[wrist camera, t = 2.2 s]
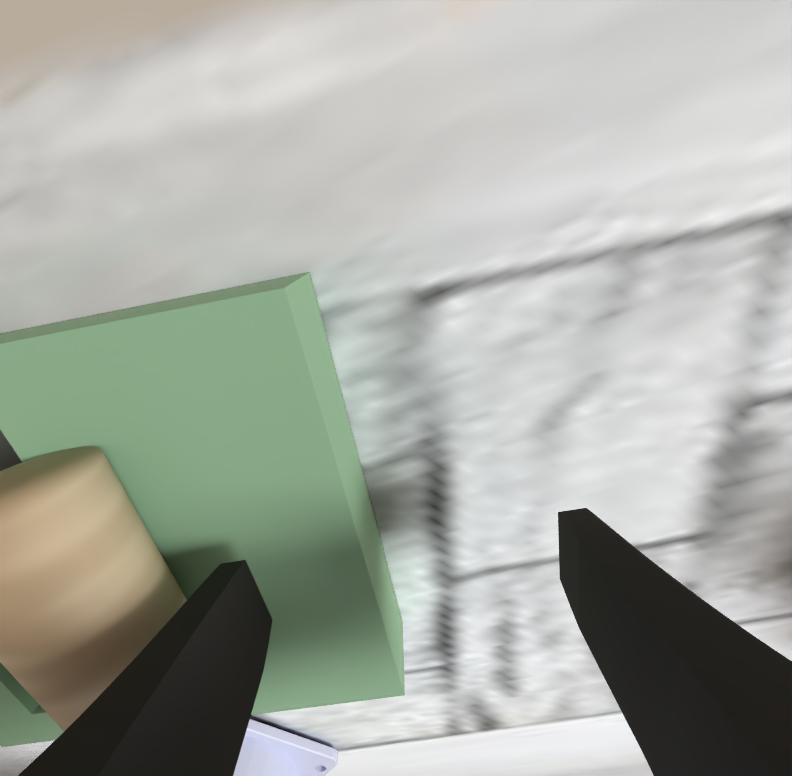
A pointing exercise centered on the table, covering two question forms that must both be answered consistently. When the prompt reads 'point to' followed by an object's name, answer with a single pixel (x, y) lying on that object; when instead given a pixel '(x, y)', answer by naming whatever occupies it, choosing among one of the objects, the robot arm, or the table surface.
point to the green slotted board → (222, 473)
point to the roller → (75, 580)
